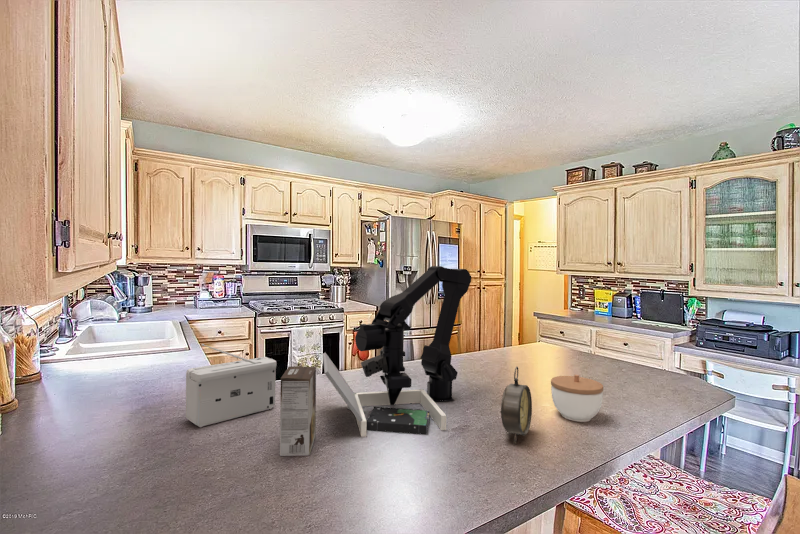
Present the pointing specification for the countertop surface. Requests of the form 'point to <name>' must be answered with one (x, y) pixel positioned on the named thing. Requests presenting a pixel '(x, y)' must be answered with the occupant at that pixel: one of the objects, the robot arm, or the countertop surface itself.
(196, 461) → the countertop surface
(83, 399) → the countertop surface
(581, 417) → the lidded bowl
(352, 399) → the beige bent panel frame
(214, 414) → the stereo radio cassette player
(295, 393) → the coffee box
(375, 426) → the disk drive
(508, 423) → the alarm clock
